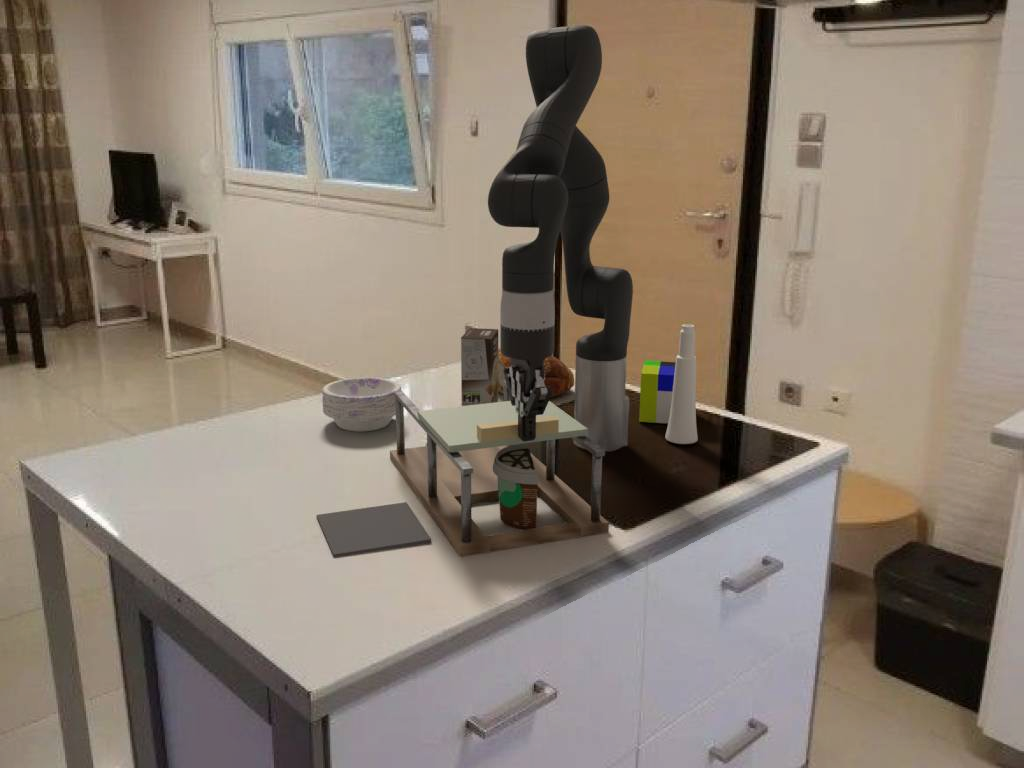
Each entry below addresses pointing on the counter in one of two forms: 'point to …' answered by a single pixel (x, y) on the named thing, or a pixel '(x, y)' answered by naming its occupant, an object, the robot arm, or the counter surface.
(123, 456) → the counter surface
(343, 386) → the paper bowls
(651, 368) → the puzzle toy
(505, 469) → the food container
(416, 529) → the charcoal mat
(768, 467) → the counter surface
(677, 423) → the cosmetic bottle
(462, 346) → the coffee box
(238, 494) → the counter surface
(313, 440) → the counter surface
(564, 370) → the bread
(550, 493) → the wooden base board
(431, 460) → the cover rails
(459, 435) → the sliding cover
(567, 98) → the robot arm
